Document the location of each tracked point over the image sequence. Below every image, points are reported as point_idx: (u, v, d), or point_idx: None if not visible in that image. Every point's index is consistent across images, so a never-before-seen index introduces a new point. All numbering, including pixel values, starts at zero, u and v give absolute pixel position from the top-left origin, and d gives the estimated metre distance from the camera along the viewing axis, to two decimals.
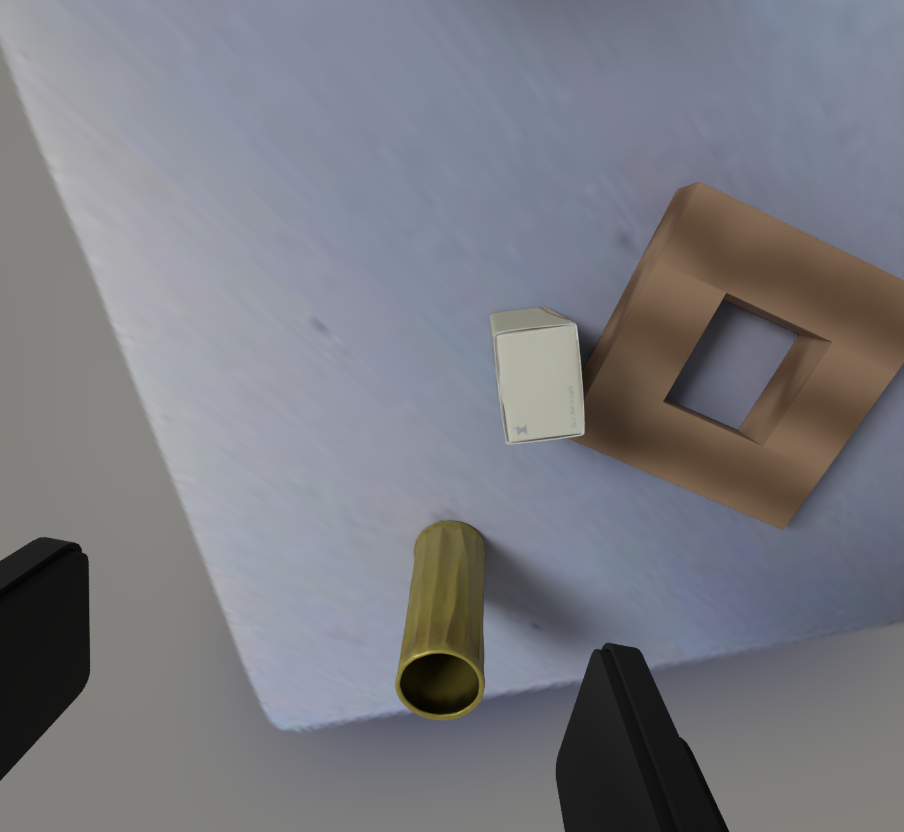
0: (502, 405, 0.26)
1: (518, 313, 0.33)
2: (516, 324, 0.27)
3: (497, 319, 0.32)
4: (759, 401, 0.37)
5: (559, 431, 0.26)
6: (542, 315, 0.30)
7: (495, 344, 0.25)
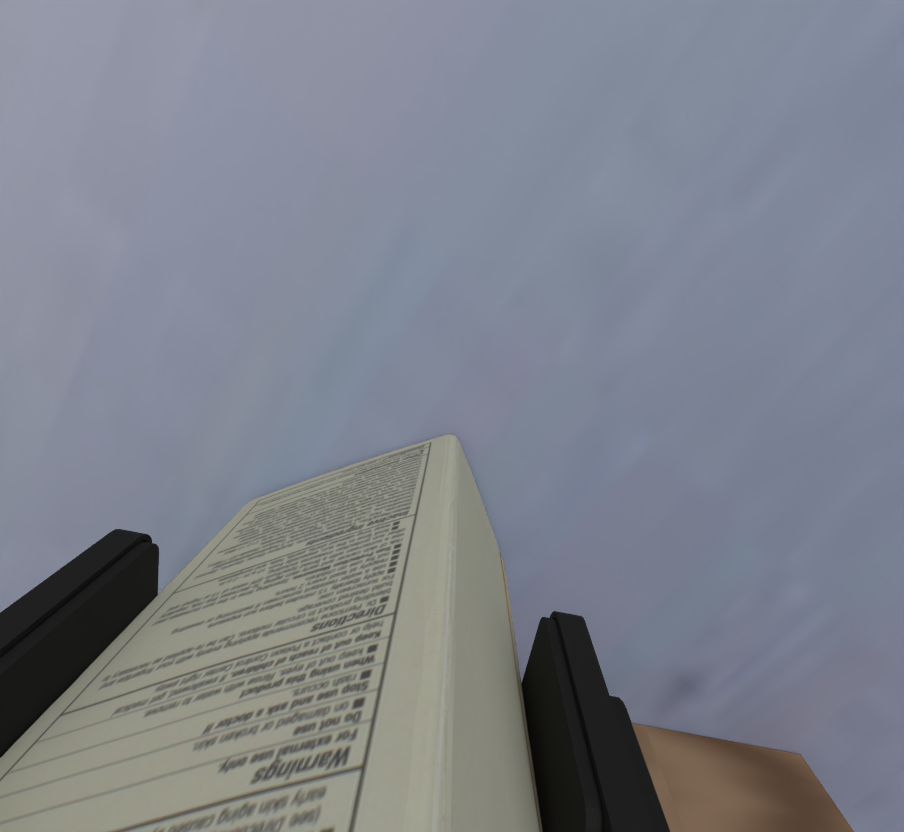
0: None
1: (485, 559, 0.10)
2: None
3: (460, 553, 0.08)
4: None
5: None
6: (519, 740, 0.08)
7: None
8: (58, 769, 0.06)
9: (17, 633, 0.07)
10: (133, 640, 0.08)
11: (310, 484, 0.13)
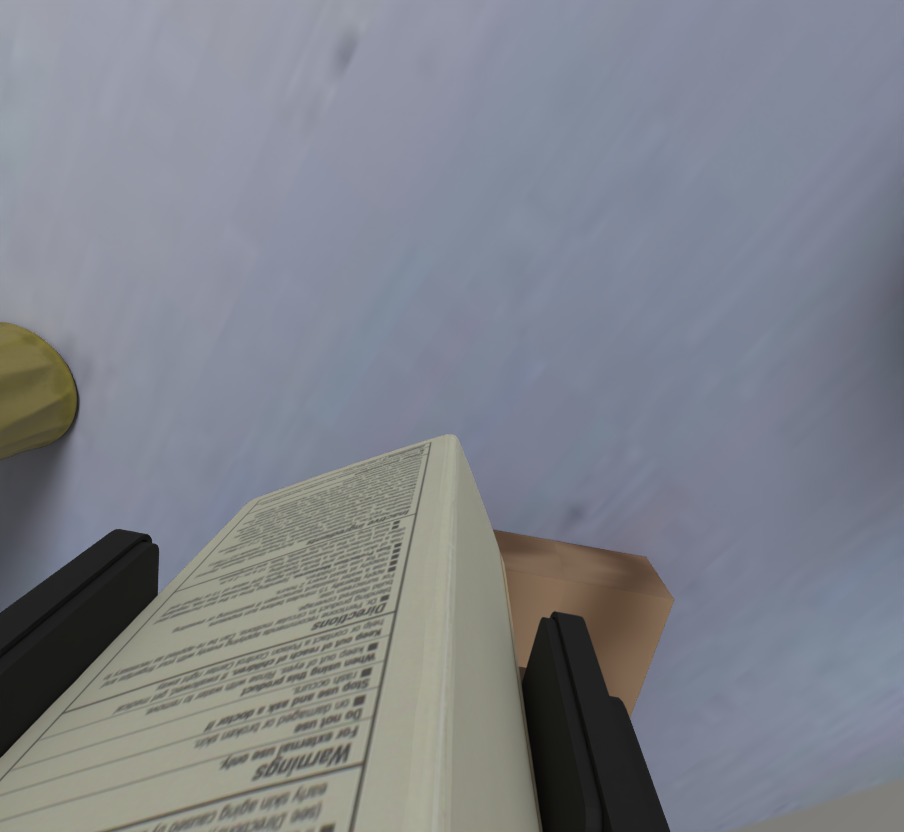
0: None
1: (485, 558, 0.10)
2: None
3: (460, 552, 0.08)
4: None
5: None
6: (519, 738, 0.08)
7: None
8: (60, 767, 0.06)
9: (17, 633, 0.07)
10: (135, 639, 0.08)
11: (310, 484, 0.13)
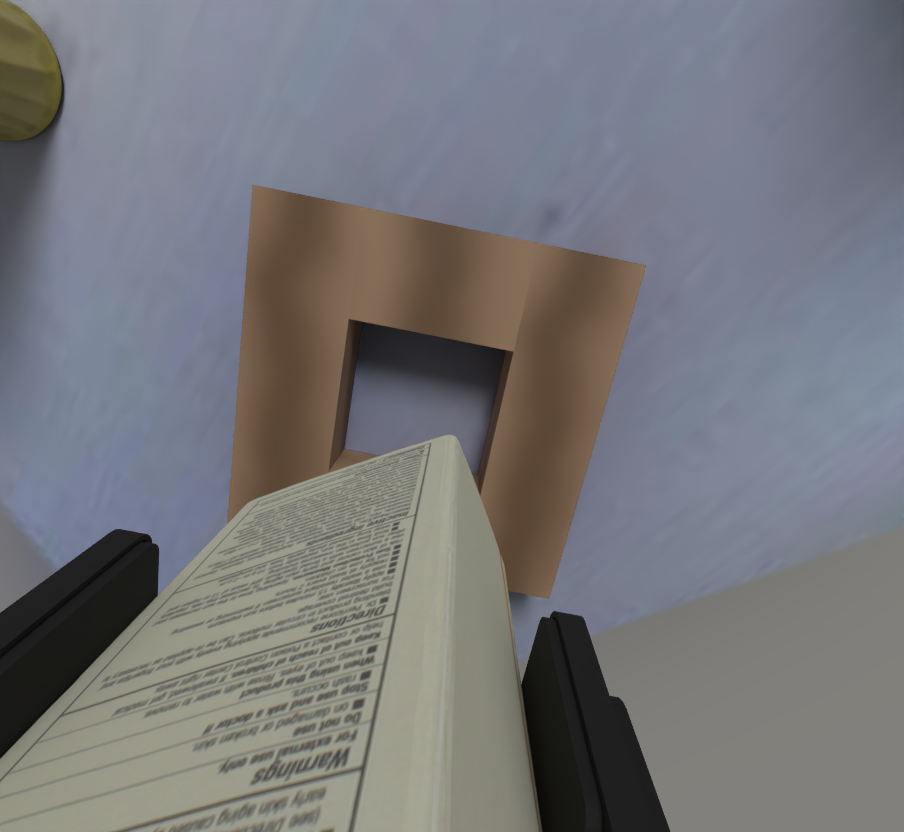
0: None
1: (485, 559, 0.10)
2: None
3: (460, 553, 0.08)
4: None
5: None
6: (519, 740, 0.08)
7: None
8: (59, 770, 0.06)
9: (17, 633, 0.07)
10: (134, 640, 0.08)
11: (310, 484, 0.13)
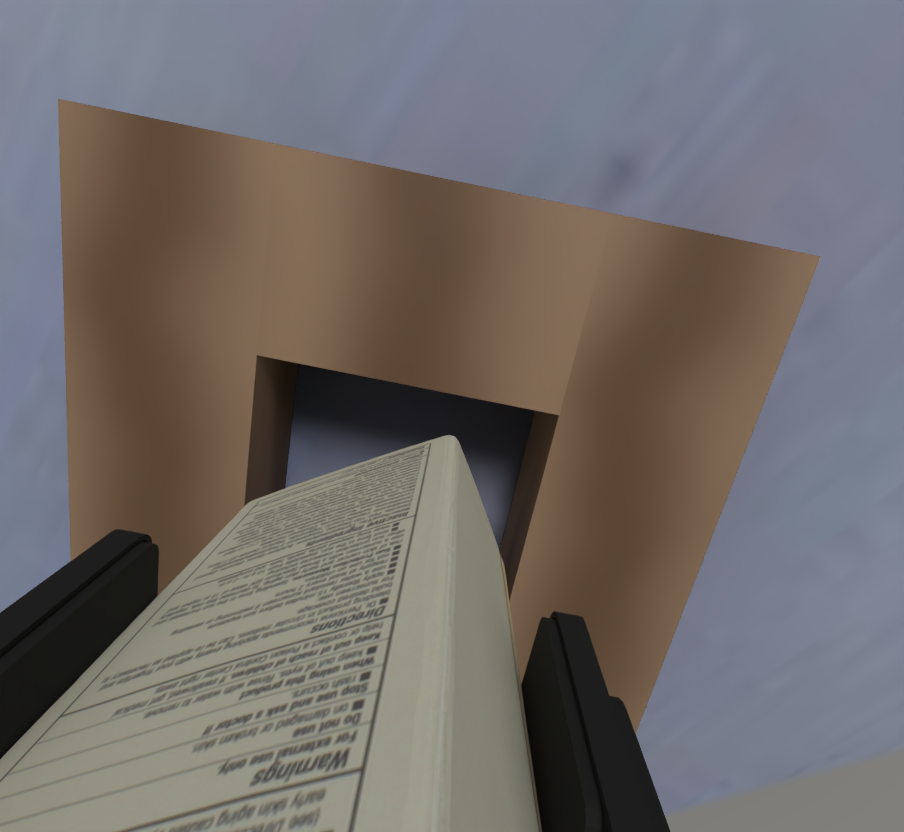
0: None
1: (485, 560, 0.10)
2: None
3: (460, 554, 0.08)
4: None
5: None
6: (519, 741, 0.08)
7: None
8: (58, 770, 0.06)
9: (17, 633, 0.07)
10: (134, 641, 0.08)
11: (310, 485, 0.13)
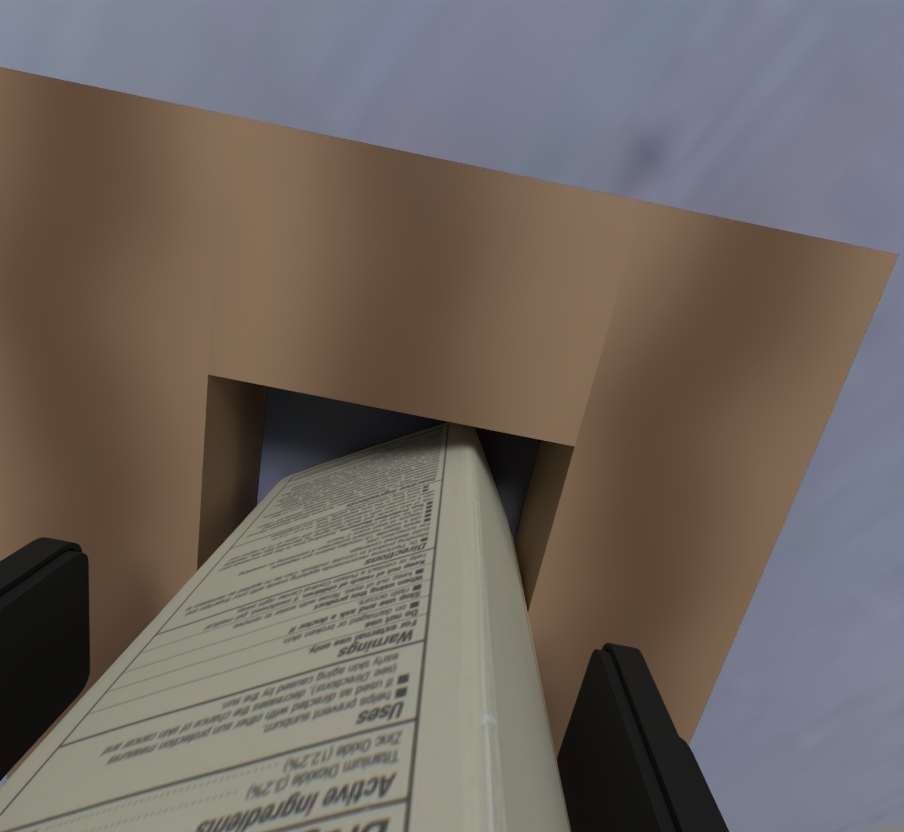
0: None
1: (499, 523, 0.12)
2: (529, 768, 0.05)
3: (482, 509, 0.09)
4: None
5: None
6: (532, 665, 0.09)
7: None
8: (169, 666, 0.07)
9: None
10: (204, 582, 0.09)
11: (339, 462, 0.14)
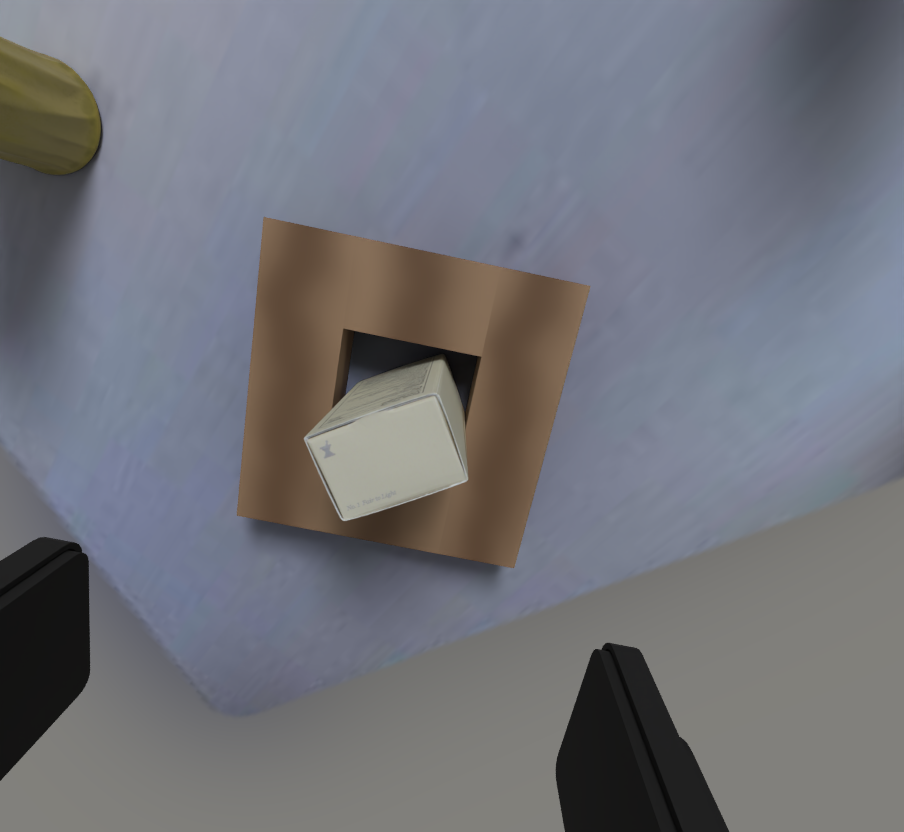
0: (351, 421, 0.21)
1: (454, 390, 0.29)
2: (449, 407, 0.23)
3: (444, 372, 0.27)
4: None
5: (338, 493, 0.22)
6: (460, 423, 0.27)
7: (424, 396, 0.21)
8: (353, 403, 0.25)
9: None
10: (348, 398, 0.27)
11: (385, 372, 0.32)
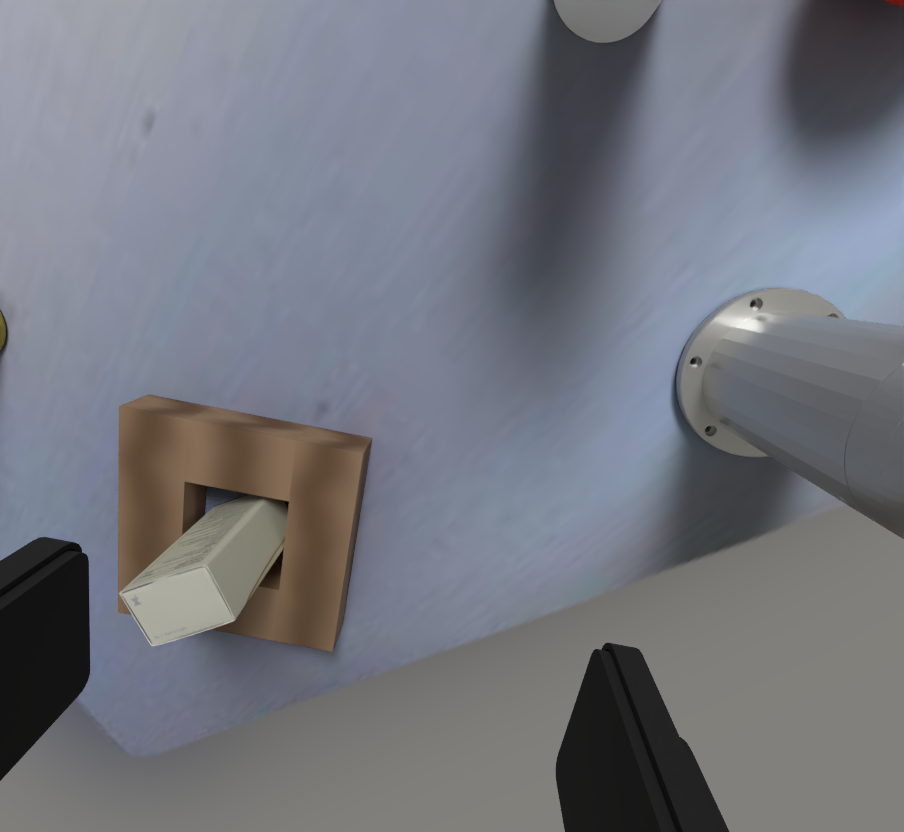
0: (150, 582, 0.30)
1: (272, 523, 0.39)
2: (232, 562, 0.32)
3: (253, 519, 0.36)
4: None
5: (147, 628, 0.31)
6: (263, 558, 0.36)
7: (197, 567, 0.30)
8: (174, 552, 0.34)
9: None
10: (182, 538, 0.37)
11: (231, 502, 0.41)
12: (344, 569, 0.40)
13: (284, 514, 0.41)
